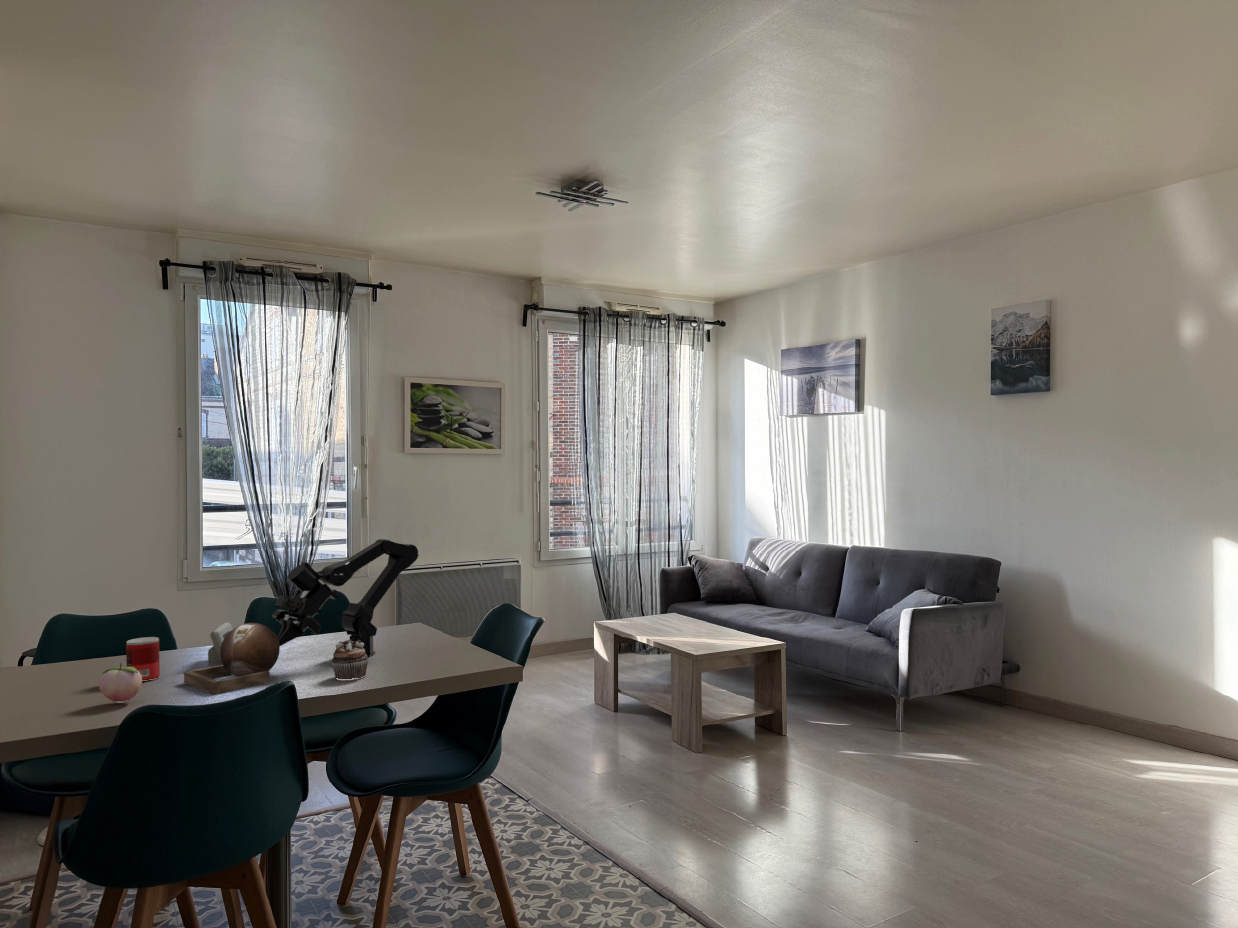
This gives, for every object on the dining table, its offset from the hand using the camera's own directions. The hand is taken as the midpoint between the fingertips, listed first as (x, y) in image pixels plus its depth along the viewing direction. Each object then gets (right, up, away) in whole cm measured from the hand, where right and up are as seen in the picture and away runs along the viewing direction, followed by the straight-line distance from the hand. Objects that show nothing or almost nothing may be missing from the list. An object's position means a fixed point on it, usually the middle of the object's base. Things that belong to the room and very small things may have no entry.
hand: (276, 645), depth 241 cm
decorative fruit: (-27, -8, -29) cm, 40 cm away
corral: (-9, -8, -10) cm, 16 cm away
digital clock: (-22, -8, +17) cm, 29 cm away
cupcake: (+23, -7, -7) cm, 25 cm away
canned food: (-35, -9, -4) cm, 36 cm away
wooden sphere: (-5, -8, -6) cm, 11 cm away
